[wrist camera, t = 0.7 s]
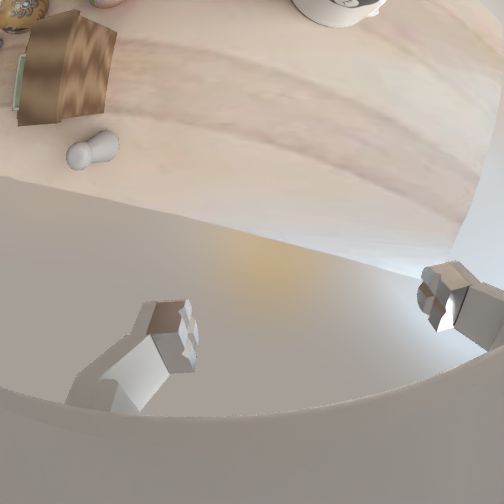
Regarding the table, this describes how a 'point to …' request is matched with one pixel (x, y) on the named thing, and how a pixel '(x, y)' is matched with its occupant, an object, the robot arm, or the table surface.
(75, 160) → the salt shaker
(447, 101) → the table surface
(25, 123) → the wooden stand
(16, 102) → the tray
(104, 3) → the decorative fruit
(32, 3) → the ceramic vessel
